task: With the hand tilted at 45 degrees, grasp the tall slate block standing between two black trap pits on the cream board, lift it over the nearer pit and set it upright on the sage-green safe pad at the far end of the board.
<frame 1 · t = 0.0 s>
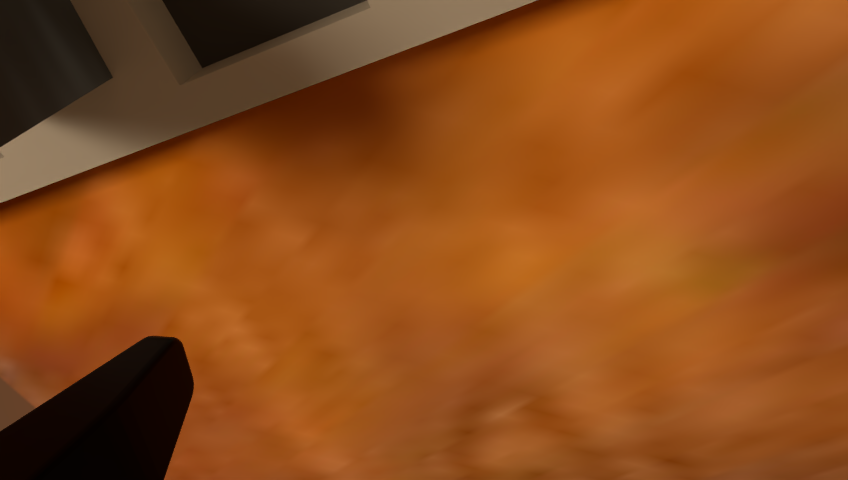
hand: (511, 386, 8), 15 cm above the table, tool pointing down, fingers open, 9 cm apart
slate block: (16, 26, 19), point 2 cm above the table, touching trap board
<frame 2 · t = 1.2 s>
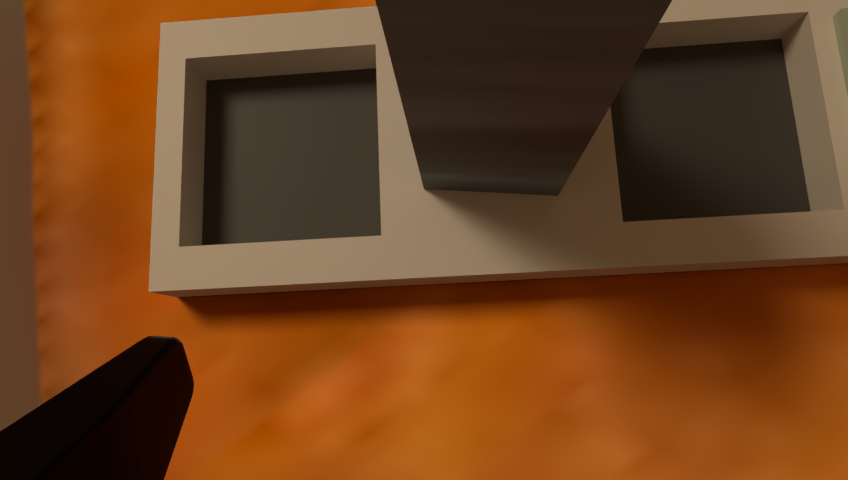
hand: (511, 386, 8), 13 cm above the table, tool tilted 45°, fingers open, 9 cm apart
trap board: (585, 142, 22), on the table
slate block: (493, 129, 21), point 2 cm above the table, touching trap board
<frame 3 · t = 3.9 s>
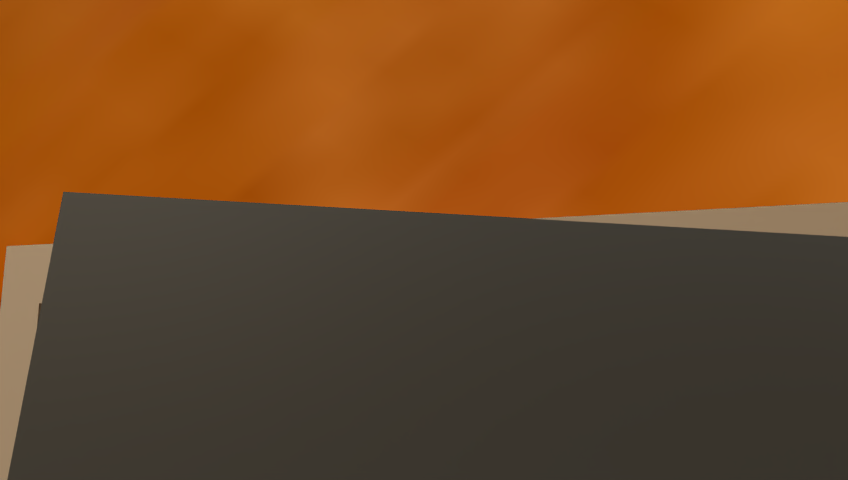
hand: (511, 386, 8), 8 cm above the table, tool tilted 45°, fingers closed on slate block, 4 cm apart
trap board: (623, 422, 15), on the table
slate block: (488, 436, 14), point 2 cm above the table, touching gripper, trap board
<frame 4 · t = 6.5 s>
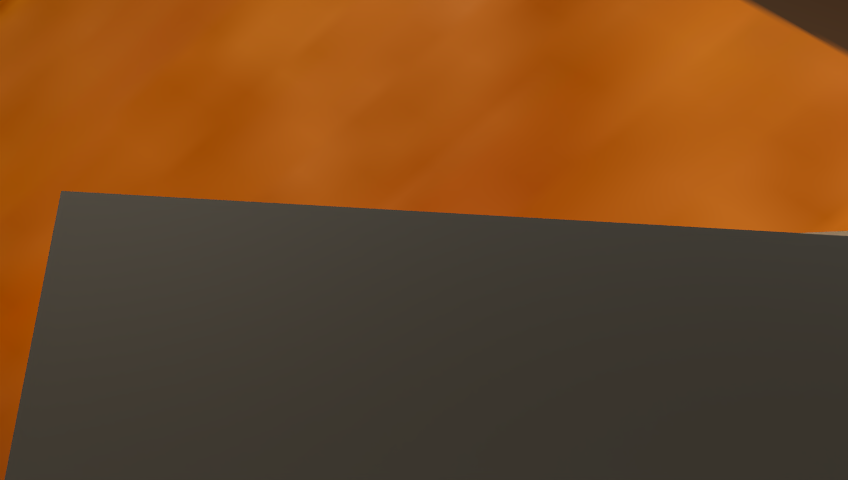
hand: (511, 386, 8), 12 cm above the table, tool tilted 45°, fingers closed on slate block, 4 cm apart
slate block: (488, 436, 14), point 6 cm above the table, touching gripper
when the fingers open (10 cm above the table, at t = 9.5 s): slate block stays where it is, resting on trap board.
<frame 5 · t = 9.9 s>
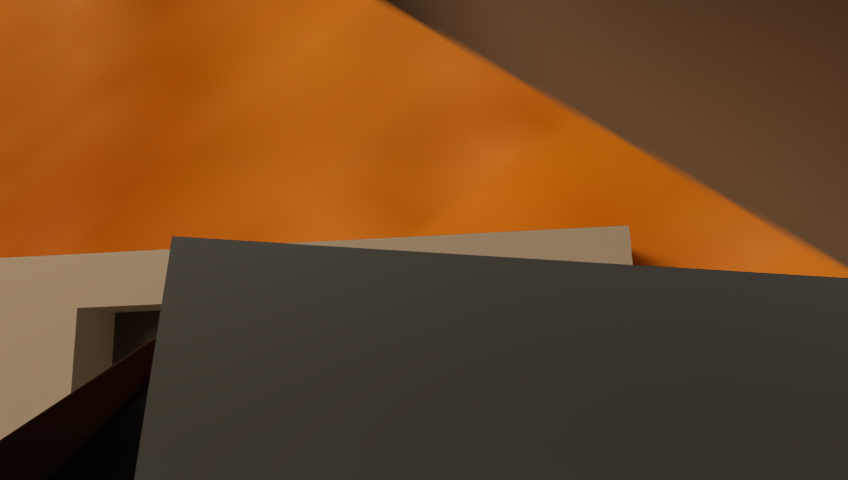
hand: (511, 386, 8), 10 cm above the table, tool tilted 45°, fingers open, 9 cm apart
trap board: (95, 432, 18), on the table
slate block: (486, 429, 15), point 2 cm above the table, touching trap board
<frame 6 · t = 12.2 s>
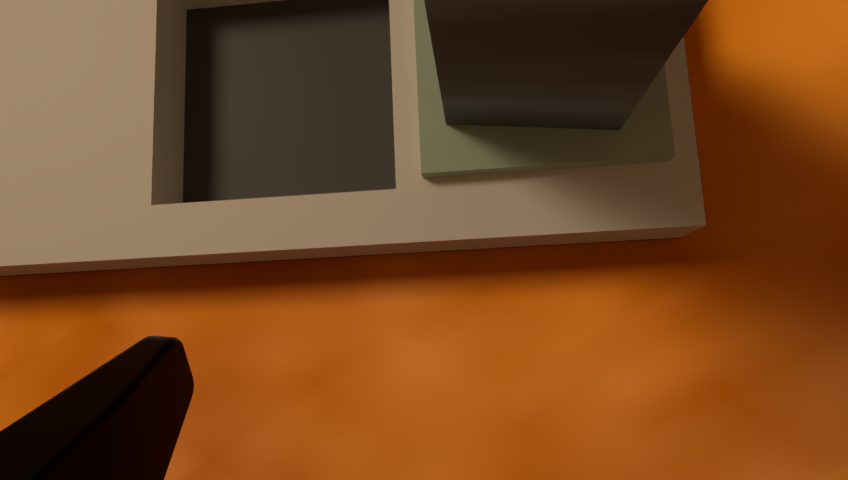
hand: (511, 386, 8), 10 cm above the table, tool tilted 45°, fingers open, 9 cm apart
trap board: (172, 113, 19), on the table
slate block: (535, 46, 16), point 2 cm above the table, touching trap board
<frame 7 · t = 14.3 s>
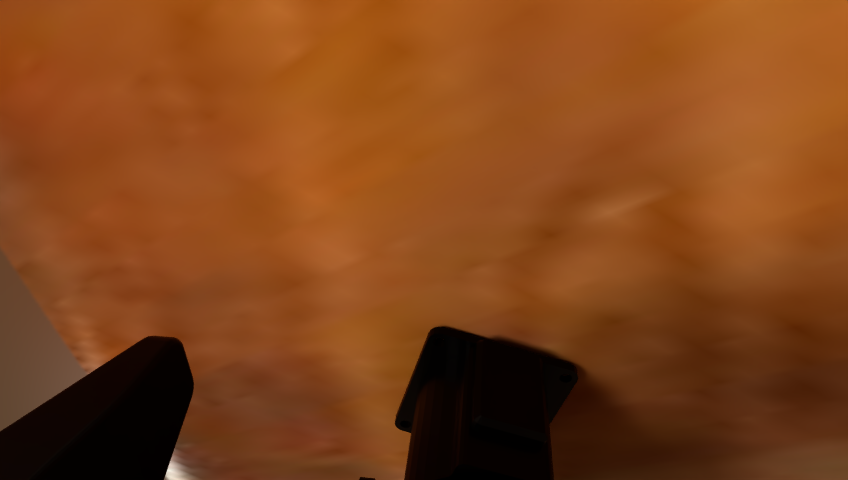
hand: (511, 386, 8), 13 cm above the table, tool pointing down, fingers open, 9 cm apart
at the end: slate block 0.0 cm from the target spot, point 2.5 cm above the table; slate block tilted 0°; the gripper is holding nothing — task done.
